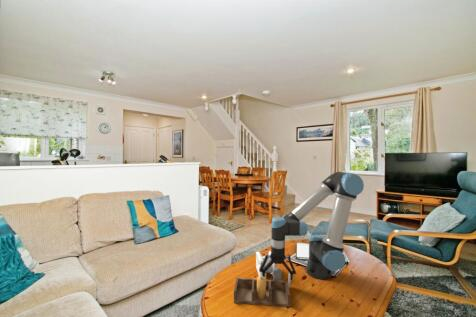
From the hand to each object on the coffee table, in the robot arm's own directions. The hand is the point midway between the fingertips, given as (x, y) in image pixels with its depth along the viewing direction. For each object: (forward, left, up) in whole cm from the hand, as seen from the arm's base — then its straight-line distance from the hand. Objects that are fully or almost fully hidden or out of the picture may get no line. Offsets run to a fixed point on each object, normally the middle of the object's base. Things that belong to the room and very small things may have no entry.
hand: (277, 285), depth 121 cm
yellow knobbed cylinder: (+9, +12, 0) cm, 15 cm away
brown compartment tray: (+9, +10, -1) cm, 13 cm away
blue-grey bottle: (0, 0, -1) cm, 1 cm away
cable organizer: (+6, -13, -1) cm, 14 cm away
